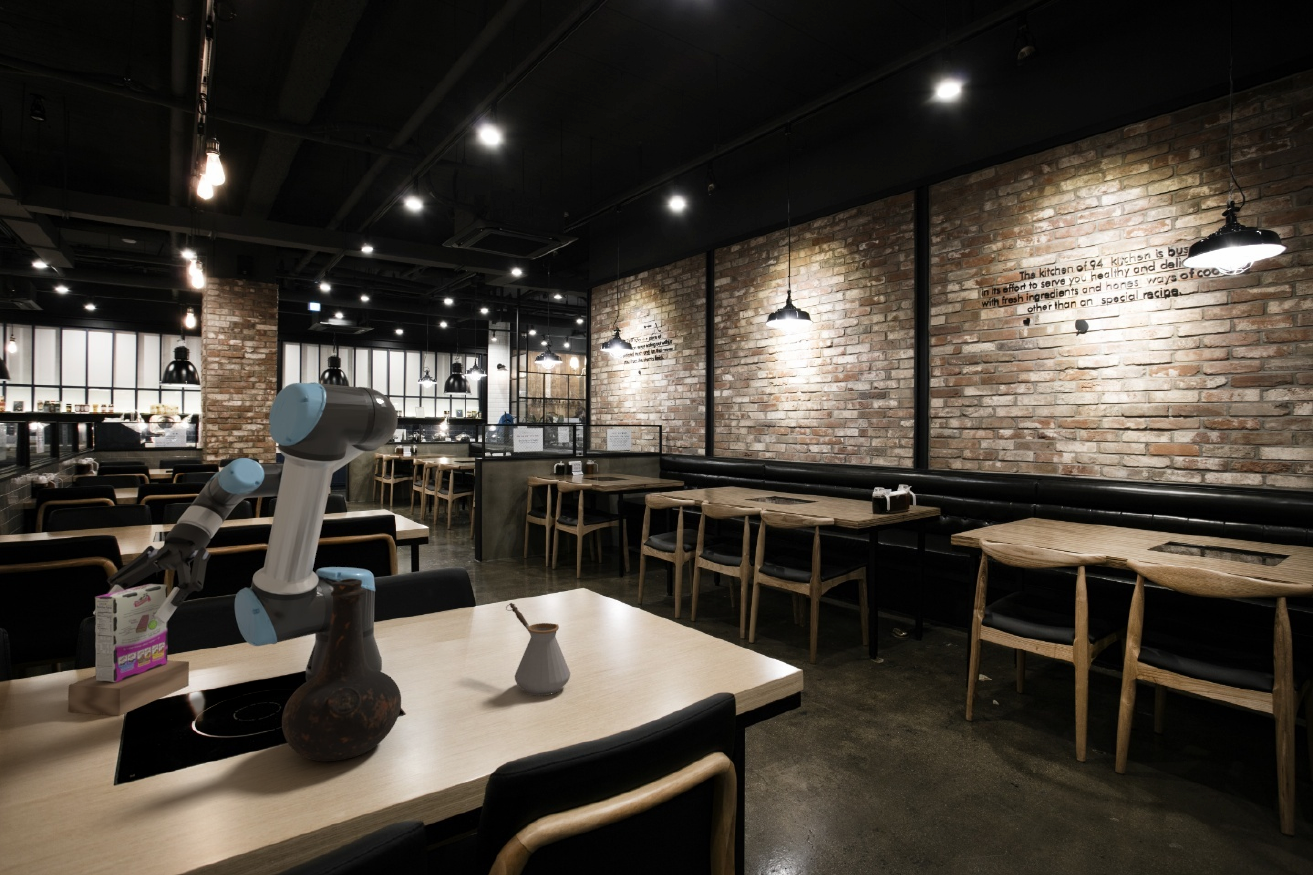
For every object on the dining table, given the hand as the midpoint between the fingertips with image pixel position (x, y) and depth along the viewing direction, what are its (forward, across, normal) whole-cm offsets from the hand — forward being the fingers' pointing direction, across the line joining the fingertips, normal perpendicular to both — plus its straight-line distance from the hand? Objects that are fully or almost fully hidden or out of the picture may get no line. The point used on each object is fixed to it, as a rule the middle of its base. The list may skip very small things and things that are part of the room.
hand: (129, 618), depth 128 cm
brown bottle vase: (+21, -54, -2) cm, 58 cm away
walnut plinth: (+11, 0, -11) cm, 16 cm away
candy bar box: (+8, 0, -8) cm, 11 cm away
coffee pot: (-3, -76, -26) cm, 80 cm away
